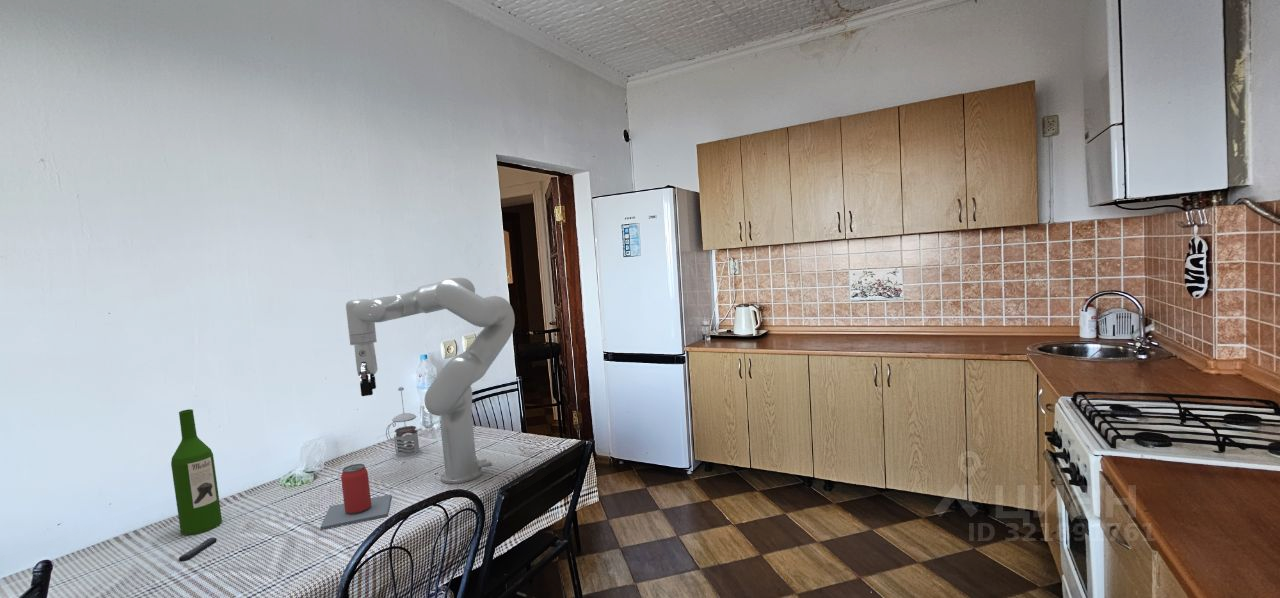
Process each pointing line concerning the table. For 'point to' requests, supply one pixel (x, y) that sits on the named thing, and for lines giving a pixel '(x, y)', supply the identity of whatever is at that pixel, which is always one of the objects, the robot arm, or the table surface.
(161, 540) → the table surface
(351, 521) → the mat
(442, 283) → the robot arm
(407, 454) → the french press
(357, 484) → the beer can
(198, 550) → the usb stick
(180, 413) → the wine bottle
